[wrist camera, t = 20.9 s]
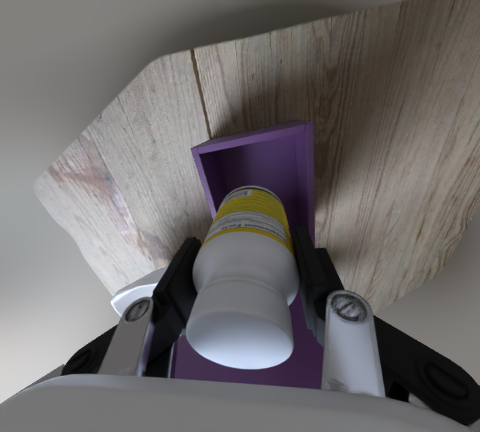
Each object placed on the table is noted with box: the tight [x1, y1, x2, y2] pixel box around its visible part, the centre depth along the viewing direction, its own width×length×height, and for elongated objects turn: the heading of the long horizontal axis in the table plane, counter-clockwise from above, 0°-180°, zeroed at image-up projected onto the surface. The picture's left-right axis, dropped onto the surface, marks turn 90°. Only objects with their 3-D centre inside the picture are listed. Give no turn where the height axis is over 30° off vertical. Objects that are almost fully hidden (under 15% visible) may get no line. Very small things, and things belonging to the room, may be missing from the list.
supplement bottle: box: [186, 186, 300, 369], centre depth 11 cm, size 5×5×10 cm
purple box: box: [191, 120, 315, 248], centre depth 27 cm, size 18×14×9 cm
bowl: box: [111, 267, 181, 336], centre depth 40 cm, size 22×22×12 cm
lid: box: [174, 289, 324, 390], centre depth 18 cm, size 18×14×5 cm
